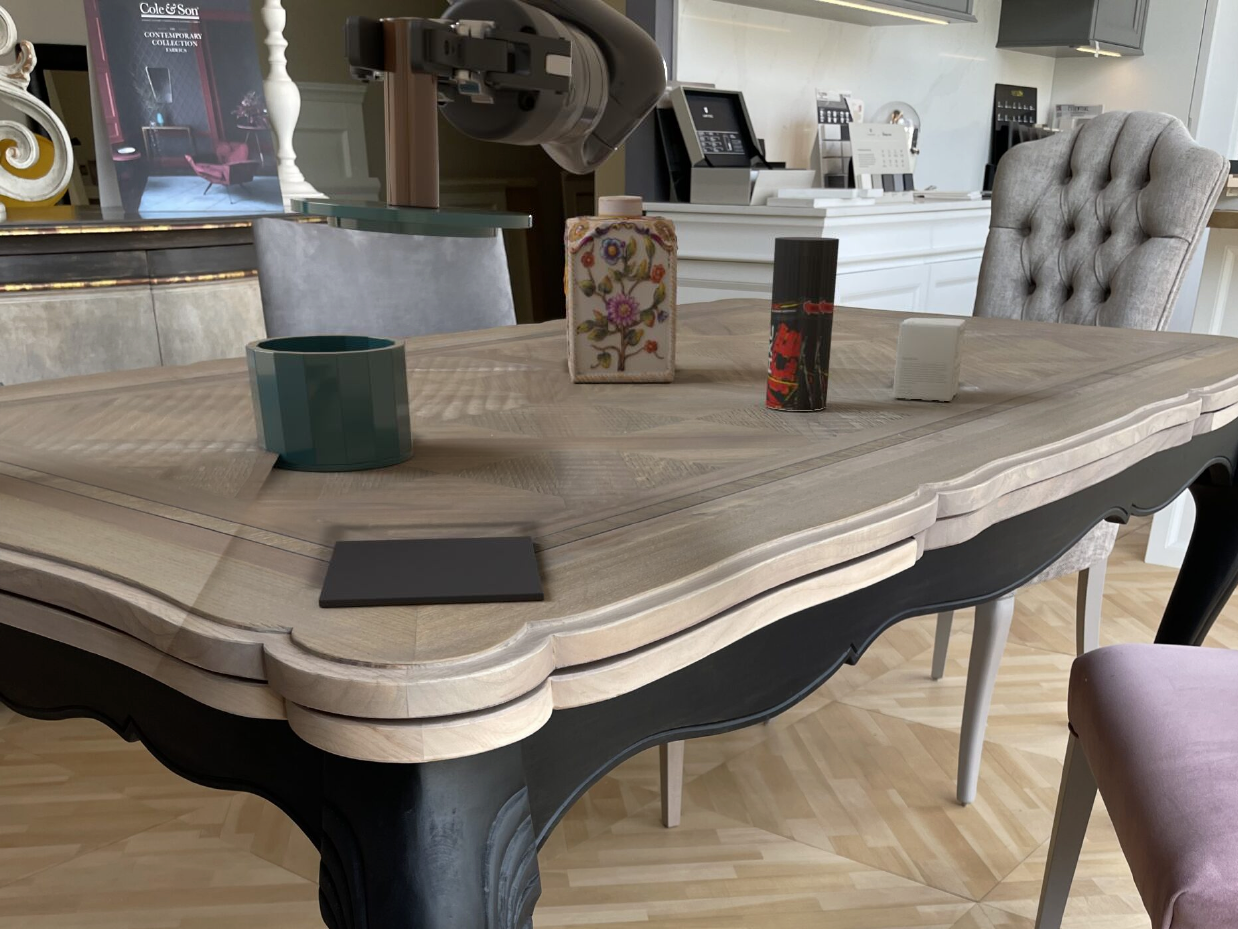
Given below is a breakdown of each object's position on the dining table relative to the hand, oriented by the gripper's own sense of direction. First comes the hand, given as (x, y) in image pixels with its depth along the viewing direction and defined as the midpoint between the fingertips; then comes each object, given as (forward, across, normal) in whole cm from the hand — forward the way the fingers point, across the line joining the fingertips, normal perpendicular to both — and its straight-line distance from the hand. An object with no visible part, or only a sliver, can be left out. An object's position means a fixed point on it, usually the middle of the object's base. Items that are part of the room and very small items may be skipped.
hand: (385, 42), depth 62 cm
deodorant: (-62, +13, +24) cm, 68 cm away
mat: (+2, +3, +26) cm, 26 cm away
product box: (-73, +24, +23) cm, 80 cm away
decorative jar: (-76, -10, +25) cm, 80 cm away
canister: (-26, -18, +26) cm, 41 cm away
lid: (-3, 0, +8) cm, 8 cm away
